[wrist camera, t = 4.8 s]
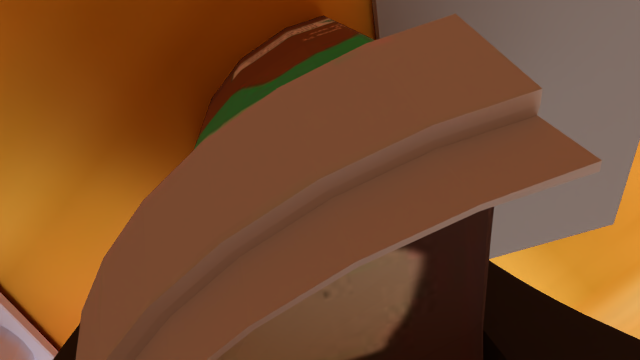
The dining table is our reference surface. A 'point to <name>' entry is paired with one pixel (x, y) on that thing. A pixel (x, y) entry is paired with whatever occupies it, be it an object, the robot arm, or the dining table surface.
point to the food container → (333, 204)
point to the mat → (557, 97)
